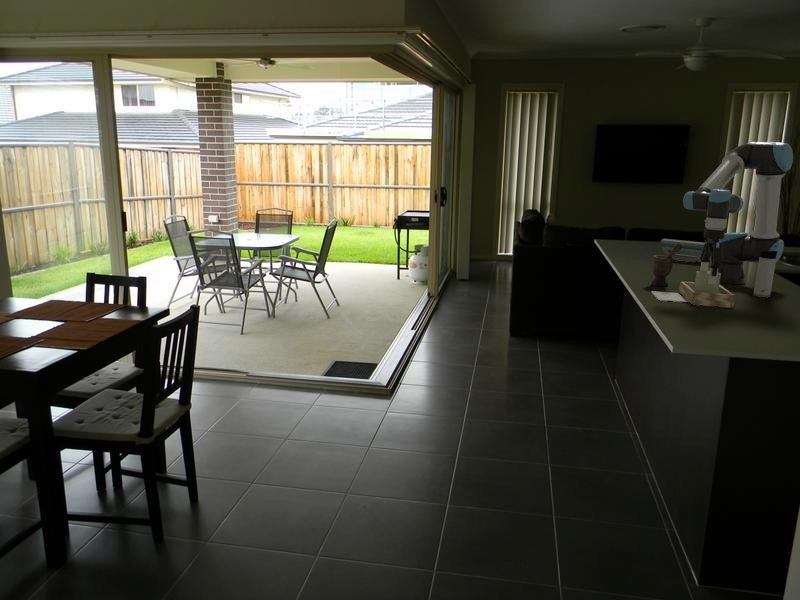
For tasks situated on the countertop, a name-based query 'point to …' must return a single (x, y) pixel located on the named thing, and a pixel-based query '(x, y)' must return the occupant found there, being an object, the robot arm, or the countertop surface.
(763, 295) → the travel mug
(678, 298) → the mat
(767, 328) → the countertop surface
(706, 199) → the robot arm
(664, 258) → the mortar and pestle
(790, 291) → the countertop surface
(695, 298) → the wooden frame
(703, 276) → the can
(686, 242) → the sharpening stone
